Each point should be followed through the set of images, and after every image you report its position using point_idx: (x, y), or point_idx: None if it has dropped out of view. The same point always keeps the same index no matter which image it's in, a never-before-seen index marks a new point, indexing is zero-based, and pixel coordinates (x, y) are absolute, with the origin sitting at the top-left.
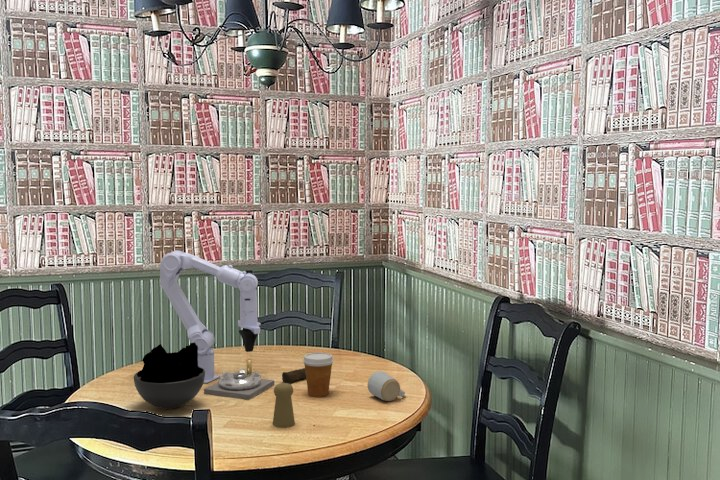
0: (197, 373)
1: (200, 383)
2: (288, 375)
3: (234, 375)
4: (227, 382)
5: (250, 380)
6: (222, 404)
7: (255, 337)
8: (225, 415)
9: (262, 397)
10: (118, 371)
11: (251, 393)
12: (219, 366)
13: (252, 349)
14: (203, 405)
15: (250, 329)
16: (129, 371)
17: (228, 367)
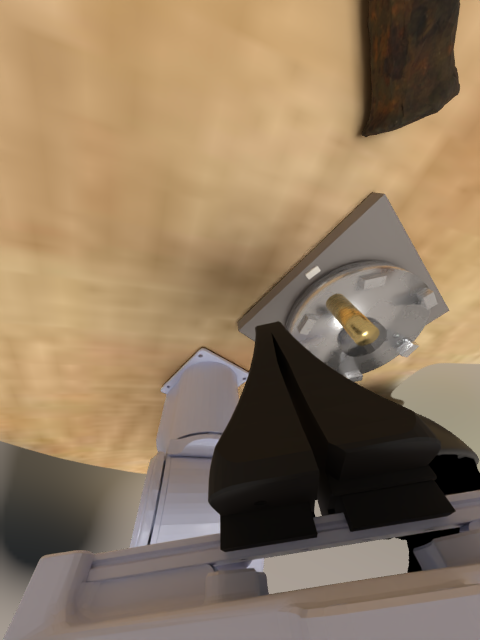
0: (464, 463)
1: (453, 435)
2: (451, 98)
3: (363, 354)
4: (379, 364)
5: (413, 310)
6: (412, 354)
7: (353, 388)
8: (473, 353)
9: (452, 266)
10: (121, 469)
11: (444, 302)
12: (70, 339)
13: (283, 329)
14: (388, 380)
15: (420, 532)
16: (122, 461)
17: (83, 316)
